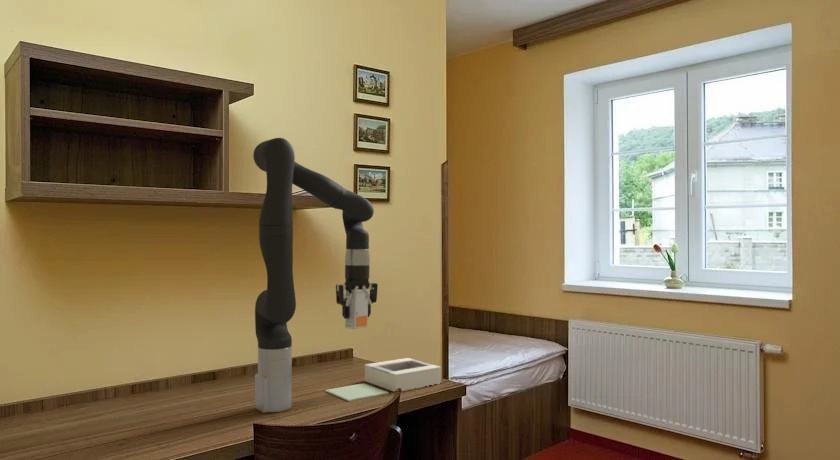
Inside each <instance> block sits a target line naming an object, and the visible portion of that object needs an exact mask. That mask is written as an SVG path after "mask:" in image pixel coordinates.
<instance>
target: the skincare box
mask: <svg viewBox="0 0 840 460" xmlns="http://www.w3.org/2000/svg"><path fill="white" fill-rule="evenodd" d="M352 291H353V295H352V296H353V300H351V302H350V304H349V319H345V318H344V320H345V321H344V328H345V329H351V330H357V329H359V330H360V329H366V328H368V326H369V325H368V323H369V322H368V320H369V317H368V299H367V298H366V296H365V291H363V289H358V290H351V292H352ZM367 292H368V293H369V288H368V289H367ZM345 294H346V296H350V294H351V293H349V291H348V290H347V291H346V290H345Z"/></svg>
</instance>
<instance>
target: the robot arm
mask: <svg viewBox="0 0 840 460" xmlns="http://www.w3.org/2000/svg"><path fill="white" fill-rule="evenodd" d="M252 155H253V161H254V164H255V165H256V166H257V168H258V169H259V170H261V171H263V172H266V173H265V174H266V191H265V196H264V200H263V203H262V204H261V205H262V206H261V209H260V214H259V219H258V220H259V221H258V239H259V240H258V241H259V248H260V251H261V256H262V259H263V262H264V266H265V269H266V277H267V281H266V282H267V283H266V287H267V288H266V289H265V290H263V291H261V292H260V294H259V295H258V296H257V298H256V299H255V300H256V301H255V306H254V307H255V308H254V323H255V326H254V327H255V336H256V340H257V373H255V375H254V409H256V410H257V411H260V412H261V413H263V414H264V413H278V412H284V411H287V410H290V409H291V408H292V351H293V350H292V347H293V345H292V341H293V339H292V336H291V334H290V332H289V329H288V324H287V323H288V322H289V321H291V319H292V318H293V317H294V315H295V312H296V310H297V309H296V308H297V300H296V291H295V290H296V289H295V283H294V273H293V272H294V271H293V265H294V255H293V254H294V252H293V251H294V249H293V246H294V245H293V244H294V243H293V242H294V235H293V234H294V227H293V226H294V224H293V223H294V222H293V186H296V187H298V188H300V189H301V190H303V191H305V192H306V193H308V194H310V195H312V196H313V197H314V198H316V199H318V200H319V201H321V202H322V203H324V204H325V205H327V206H329V207H330V208H333V209H335V210H340V211H342V214H341V215H342V216H341V217H342V222H343V228H344V231H345V234H346V235H345V237H346V240H345V242H346V243H345V246H346V247H345V256H344V279H345V281H344V283H343V284H338V283H337V284H336V285H335V296H336V298H335V299H336V301H335V303H336V304H337V305H340V306H341V307H342V308H341V309H342V310H341V311H342V313H341V315H342V317H343V318H344V320H345V319H349V304H350V302H351V300H353V296H352V295H353V291H352V292H351V290H358V289H363V291H365V296H366V298H367V299H368V318H369V317H370V315H371V314H372V313H371V312H372V306H371V305H372V304H374V303H377V300H378V288H379V287H378V283H375V282H371V283H370V282H369V279H370V259H371V258H370V249H369V247H370V235H369V232H368V231H367V230H366V229H364V225H363V222H364V223H365V222H367V221H369V220H370V219H372V218H373V216H374V206H373V205H372V203H371V202H370V201H369V200H368V199H367V198H365V197H363V196H362V195H360V194H357V193H355V192H354V191H351V190H349V189H346V188H345V187H343V186H342V185H340V183H338V182H336V181H334V180H333V179H331V178H329V177H327V176H325V175H324V174H322V173H319V172H317V171H315V170H312V169H310V168H307V167H306V166H303V165H302V164H299V163H298V162H297V161H295V160H296V159H295V158H296V157H295V150H294V148H293V146H292V144H291V143H290V141H288V140H287V139H285V138H283V137H274V138H270V139H268V140H264V141H262V142H260V143H259V144H258V145H256V147H255V148H254V150H253V154H252ZM367 289H368V290H369V291H368V292H367ZM347 290H348V291H349V293H351V294H350V296H346V293H344V291H345V292H346V291H347Z"/></svg>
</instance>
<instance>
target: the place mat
mask: <svg viewBox="0 0 840 460" xmlns="http://www.w3.org/2000/svg"><path fill="white" fill-rule="evenodd" d="M325 393H327V394H330V395H332V396H334V397H337V398H340V399H342V400H344V401H346V402H354V401H361V400H364V399H368V398H369V399H370V398H375V397H380V396H384V395H389V392H388V391H386V390H383V389H380V388H377V387H375V386H373V385H370V384H367V383H363V382H362V383H357V384H353V385H346V386H341V387H334V388H330V389H325Z"/></svg>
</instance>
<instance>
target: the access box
mask: <svg viewBox="0 0 840 460" xmlns="http://www.w3.org/2000/svg"><path fill="white" fill-rule="evenodd" d="M364 382H366V383H369V384H371V385H374V386H377V387H380V388H383V389H386V390H389V391H391V392H393V393H396V392H395V391H396V389H398V388H401V390H402V391H401V392H405V391H409V390H416V389H421V388H425V386H427V387H430V386H429V385H432V386H435V385H434V384H437V385H441V384H442V367H441V366H439V365H435V364H432V363H428V362H425V361H421V360H417V359H414V358H409V357H405V358H399V359H393V360H391V359H390V360H386V361H378V362H373V363H366V364H364ZM440 383H441V384H440ZM415 388H416V389H415Z"/></svg>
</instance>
